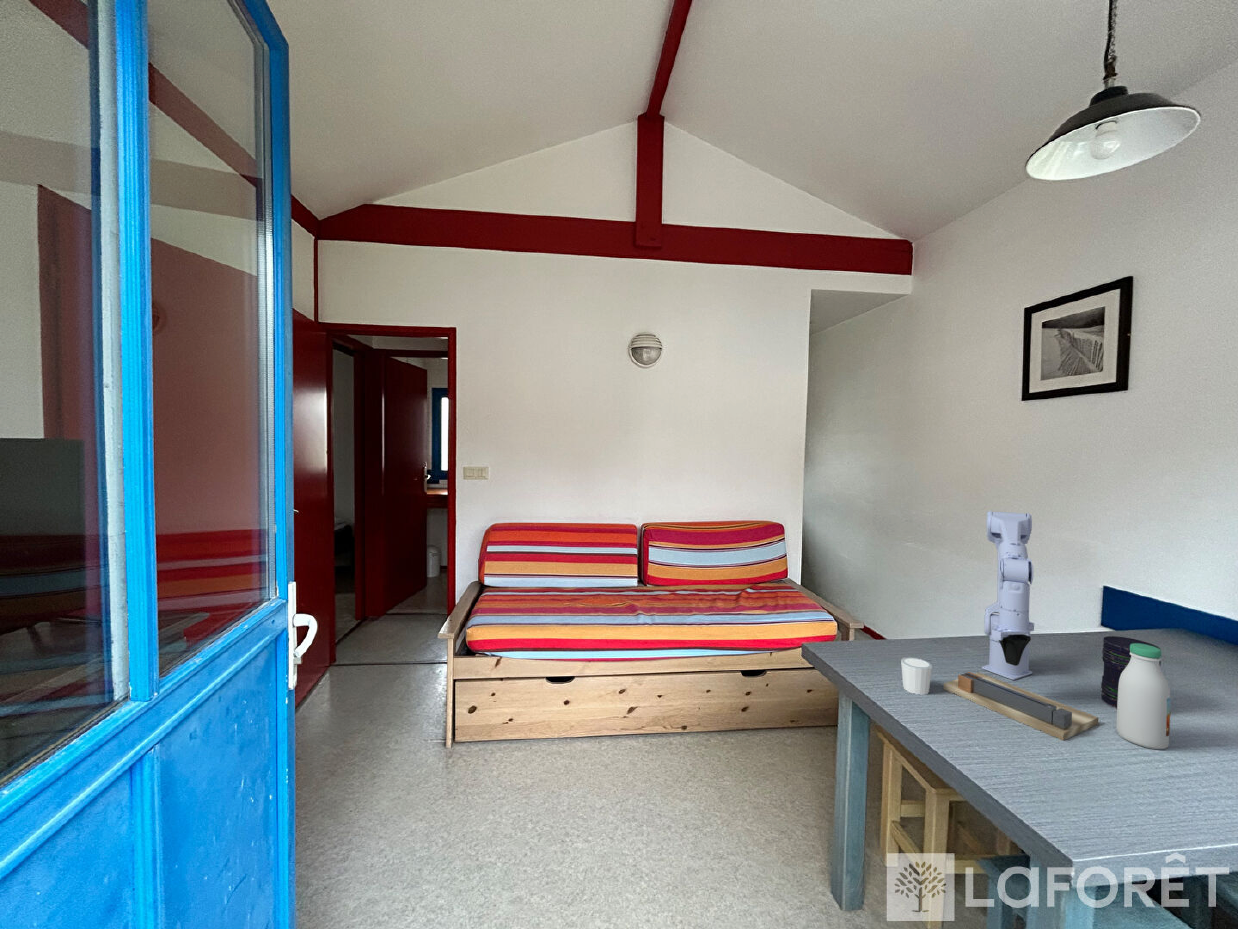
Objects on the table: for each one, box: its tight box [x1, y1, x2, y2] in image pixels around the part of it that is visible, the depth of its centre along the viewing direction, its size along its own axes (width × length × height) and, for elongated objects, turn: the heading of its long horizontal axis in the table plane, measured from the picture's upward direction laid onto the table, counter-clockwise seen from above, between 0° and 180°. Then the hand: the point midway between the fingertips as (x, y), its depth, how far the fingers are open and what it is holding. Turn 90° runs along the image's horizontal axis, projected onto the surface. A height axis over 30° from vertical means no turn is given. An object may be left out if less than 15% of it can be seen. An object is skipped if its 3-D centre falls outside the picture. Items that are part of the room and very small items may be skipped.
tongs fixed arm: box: [957, 673, 1072, 729], centre depth 118 cm, size 4×21×3 cm, turn 25°
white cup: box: [900, 657, 933, 696], centre depth 129 cm, size 7×7×7 cm
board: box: [943, 671, 1099, 741], centre depth 121 cm, size 15×25×2 cm, turn 25°
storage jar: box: [1100, 635, 1162, 709], centre depth 121 cm, size 10×10×15 cm
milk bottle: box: [1116, 643, 1171, 750], centre depth 107 cm, size 8×8×20 cm
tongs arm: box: [963, 671, 1057, 710], centre depth 120 cm, size 2×19×3 cm, turn 26°
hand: (1012, 663), depth 123 cm, fingers closed
